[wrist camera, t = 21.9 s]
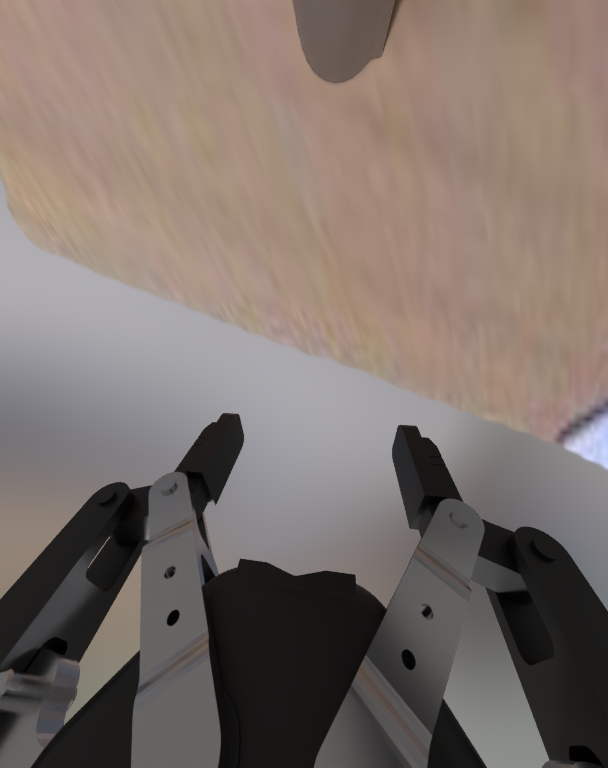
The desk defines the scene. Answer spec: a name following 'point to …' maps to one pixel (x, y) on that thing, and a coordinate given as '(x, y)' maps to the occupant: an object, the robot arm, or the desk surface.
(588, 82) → the desk surface
